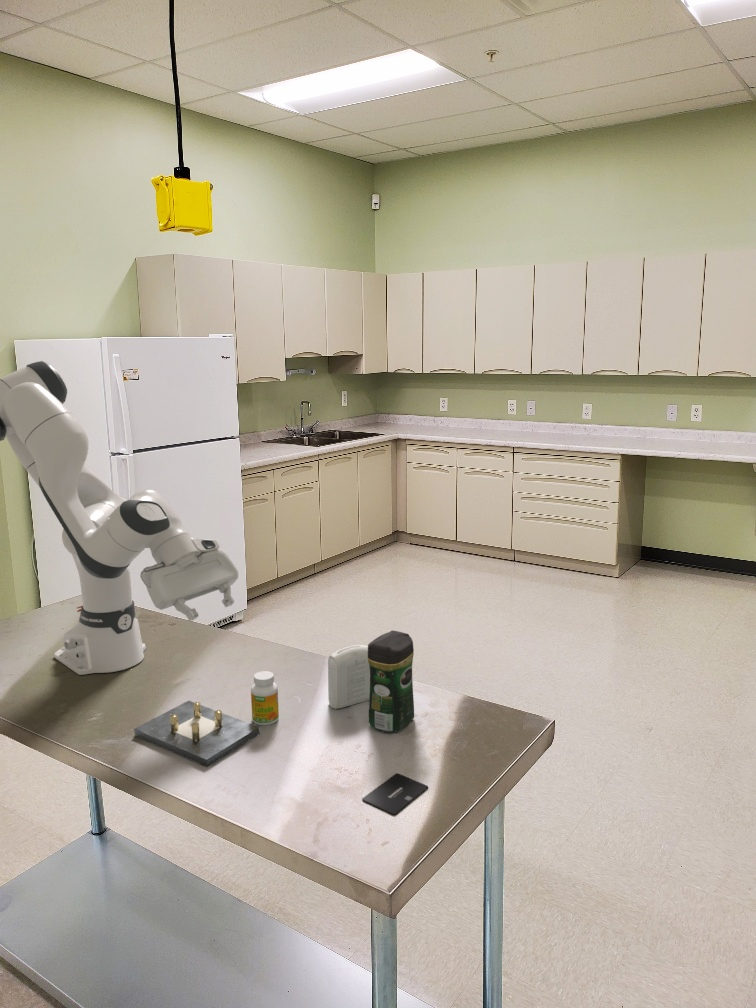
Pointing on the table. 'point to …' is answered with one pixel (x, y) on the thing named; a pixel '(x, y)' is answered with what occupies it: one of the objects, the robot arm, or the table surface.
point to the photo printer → (348, 676)
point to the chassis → (197, 732)
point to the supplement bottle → (264, 699)
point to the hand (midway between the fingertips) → (212, 611)
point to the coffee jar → (391, 681)
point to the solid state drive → (395, 794)
